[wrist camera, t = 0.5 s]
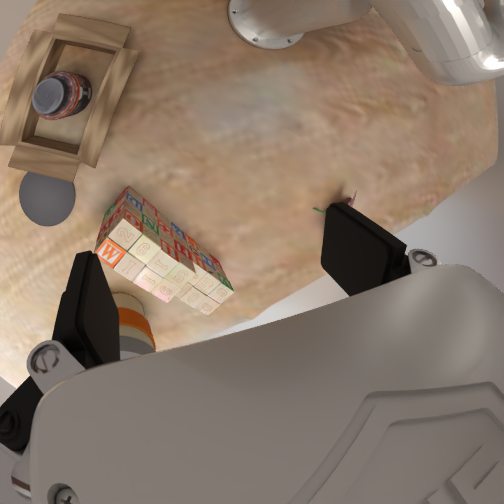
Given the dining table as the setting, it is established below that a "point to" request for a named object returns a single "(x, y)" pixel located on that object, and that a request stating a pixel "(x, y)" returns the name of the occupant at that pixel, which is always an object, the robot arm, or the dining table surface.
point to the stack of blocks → (159, 255)
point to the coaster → (46, 198)
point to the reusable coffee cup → (133, 327)
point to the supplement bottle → (61, 95)
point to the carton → (44, 63)
